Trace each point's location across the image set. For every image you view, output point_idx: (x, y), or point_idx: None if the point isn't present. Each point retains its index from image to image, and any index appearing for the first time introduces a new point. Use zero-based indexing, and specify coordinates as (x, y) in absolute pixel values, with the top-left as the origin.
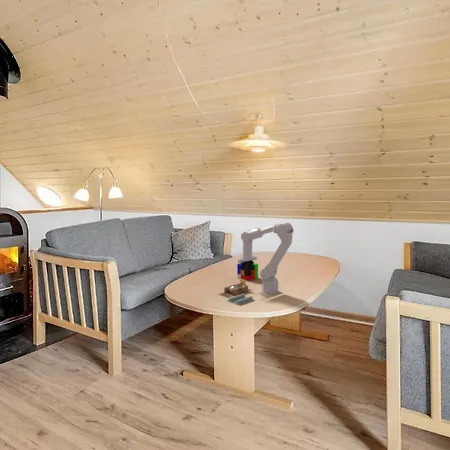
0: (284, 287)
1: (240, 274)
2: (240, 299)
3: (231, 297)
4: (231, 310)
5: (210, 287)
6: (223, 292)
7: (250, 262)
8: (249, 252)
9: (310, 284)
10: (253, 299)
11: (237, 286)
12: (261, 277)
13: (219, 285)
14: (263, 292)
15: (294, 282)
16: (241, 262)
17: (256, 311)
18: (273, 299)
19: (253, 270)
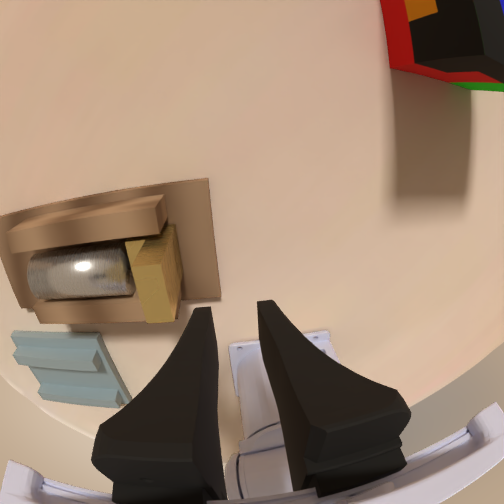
0: (410, 329)
1: None
2: (56, 395)
3: (24, 357)
4: (22, 389)
5: (41, 24)
6: (23, 212)
7: (296, 486)
8: None
9: (476, 342)
10: (127, 399)
11: (86, 291)
12: (230, 459)
13: (117, 3)
14: (237, 373)
15: (485, 293)
16: (77, 495)
17: (95, 435)
18: (223, 417)
19: (491, 78)
